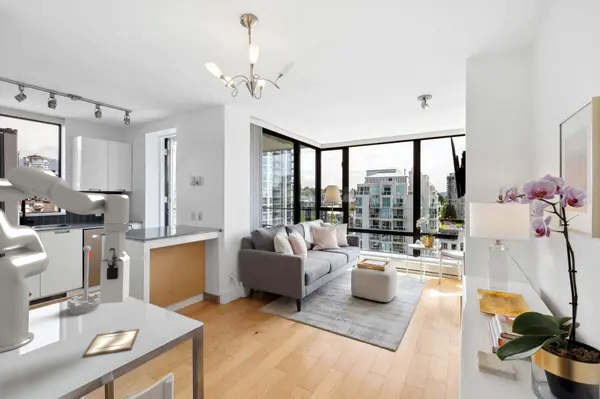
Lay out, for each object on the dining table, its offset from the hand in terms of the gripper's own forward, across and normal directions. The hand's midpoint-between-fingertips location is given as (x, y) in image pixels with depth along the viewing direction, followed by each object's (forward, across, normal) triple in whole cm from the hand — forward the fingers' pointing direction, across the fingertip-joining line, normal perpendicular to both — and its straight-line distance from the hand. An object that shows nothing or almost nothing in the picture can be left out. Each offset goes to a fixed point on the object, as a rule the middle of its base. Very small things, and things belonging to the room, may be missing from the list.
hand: (115, 275), depth 100 cm
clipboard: (+25, 0, 0) cm, 25 cm away
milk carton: (+9, 0, 0) cm, 9 cm away
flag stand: (+25, -39, -20) cm, 50 cm away
